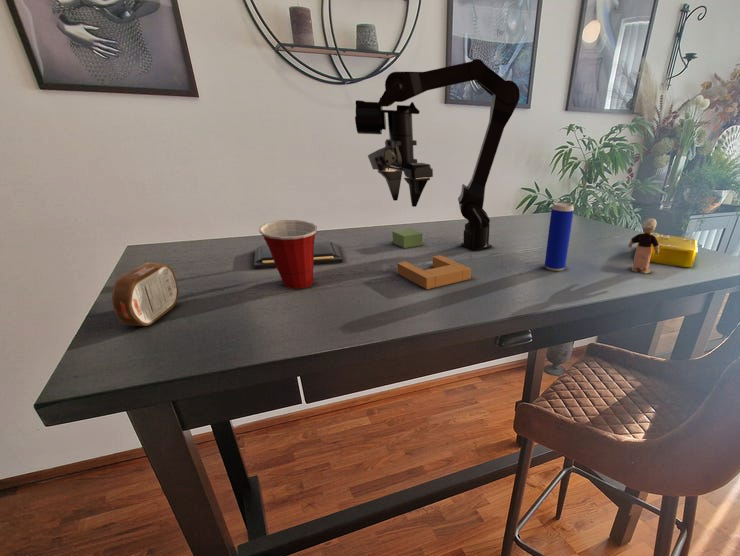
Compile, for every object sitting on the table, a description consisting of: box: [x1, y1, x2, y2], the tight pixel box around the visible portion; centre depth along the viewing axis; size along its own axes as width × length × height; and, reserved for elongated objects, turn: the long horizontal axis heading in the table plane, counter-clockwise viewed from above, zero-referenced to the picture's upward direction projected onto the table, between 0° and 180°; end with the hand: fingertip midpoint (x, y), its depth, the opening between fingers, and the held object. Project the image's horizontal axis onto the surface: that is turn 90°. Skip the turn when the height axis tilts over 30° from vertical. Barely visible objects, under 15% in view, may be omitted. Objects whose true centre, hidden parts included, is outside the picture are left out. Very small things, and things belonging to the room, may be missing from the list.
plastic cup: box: [258, 219, 318, 290], centre depth 90 cm, size 11×11×12 cm
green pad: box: [391, 228, 424, 249], centre depth 122 cm, size 6×6×3 cm
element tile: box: [635, 232, 698, 268], centre depth 121 cm, size 15×15×5 cm
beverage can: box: [544, 202, 575, 272], centre depth 106 cm, size 5×5×15 cm
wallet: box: [253, 240, 343, 269], centre depth 109 cm, size 20×2×15 cm
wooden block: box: [396, 254, 472, 290], centre depth 100 cm, size 12×12×2 cm
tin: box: [111, 261, 179, 327], centre depth 75 cm, size 15×3×8 cm, turn 5°
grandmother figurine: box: [627, 217, 659, 274], centre depth 108 cm, size 8×4×13 cm, turn 65°
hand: (404, 203), depth 115 cm, fingers open, 9 cm apart
